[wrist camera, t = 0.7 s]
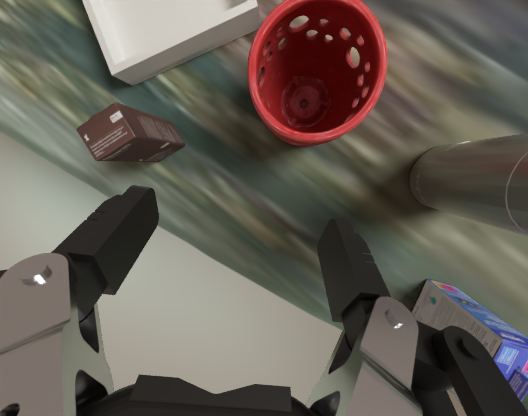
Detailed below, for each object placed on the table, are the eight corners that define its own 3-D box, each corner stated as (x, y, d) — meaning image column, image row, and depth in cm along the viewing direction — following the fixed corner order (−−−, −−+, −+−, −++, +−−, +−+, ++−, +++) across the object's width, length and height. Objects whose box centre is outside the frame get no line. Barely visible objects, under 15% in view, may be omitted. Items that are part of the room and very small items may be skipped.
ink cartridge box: (435, 337, 35) (534, 452, 21) (402, 328, 35) (477, 435, 21) (461, 287, 33) (590, 378, 19) (425, 278, 33) (525, 359, 19)
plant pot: (292, 168, 33) (293, 169, 21) (245, 95, 31) (218, 53, 20) (369, 116, 30) (419, 83, 18) (320, 34, 29) (341, -57, 17)
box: (159, 164, 35) (94, 162, 23) (145, 139, 35) (71, 125, 23) (188, 147, 34) (134, 136, 22) (174, 121, 33) (112, 96, 22)
